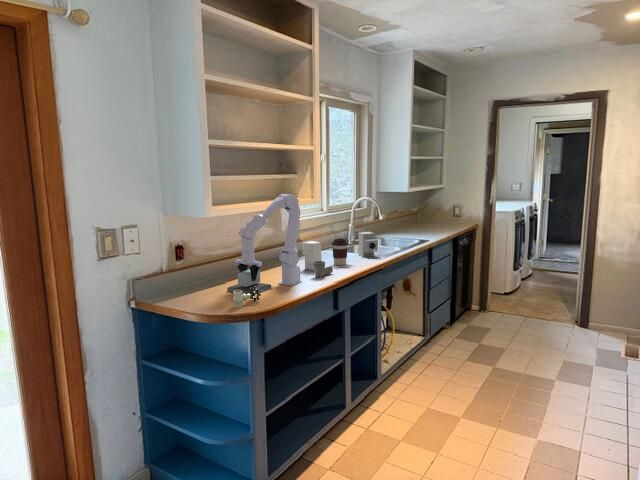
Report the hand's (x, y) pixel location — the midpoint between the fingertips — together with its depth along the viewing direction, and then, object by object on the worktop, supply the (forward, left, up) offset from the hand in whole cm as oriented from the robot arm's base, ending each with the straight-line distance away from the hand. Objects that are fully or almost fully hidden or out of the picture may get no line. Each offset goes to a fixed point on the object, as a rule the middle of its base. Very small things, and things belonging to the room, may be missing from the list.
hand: (249, 280), depth 208 cm
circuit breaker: (-101, +14, -5) cm, 102 cm away
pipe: (-41, +16, -5) cm, 44 cm away
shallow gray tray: (0, 0, -5) cm, 5 cm away
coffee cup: (-71, +9, -5) cm, 72 cm away
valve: (+19, +13, -5) cm, 24 cm away
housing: (0, 0, -2) cm, 2 cm away
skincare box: (-52, +2, -5) cm, 52 cm away
